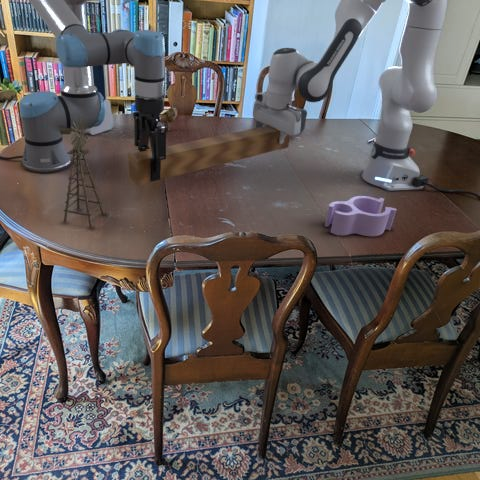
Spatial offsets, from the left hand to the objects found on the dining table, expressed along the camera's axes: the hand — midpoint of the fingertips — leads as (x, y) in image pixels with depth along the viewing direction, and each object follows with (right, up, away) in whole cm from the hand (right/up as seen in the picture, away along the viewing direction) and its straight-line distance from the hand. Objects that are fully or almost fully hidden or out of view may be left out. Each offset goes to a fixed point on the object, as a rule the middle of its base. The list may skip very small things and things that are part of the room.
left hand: (150, 175), depth 135 cm
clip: (+62, -14, +8) cm, 64 cm away
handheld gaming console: (+44, +30, +74) cm, 91 cm away
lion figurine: (-8, +29, +63) cm, 70 cm away
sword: (+95, +28, +80) cm, 127 cm away
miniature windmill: (-18, -13, -2) cm, 22 cm away
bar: (+19, +7, +15) cm, 25 cm away
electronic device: (-33, +26, +55) cm, 69 cm away
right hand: (+38, +16, +28) cm, 50 cm away
